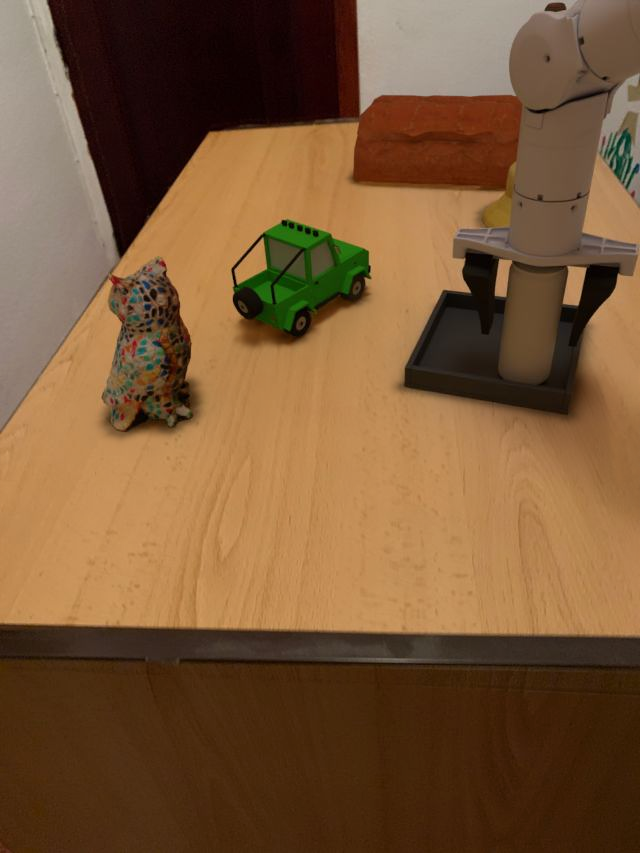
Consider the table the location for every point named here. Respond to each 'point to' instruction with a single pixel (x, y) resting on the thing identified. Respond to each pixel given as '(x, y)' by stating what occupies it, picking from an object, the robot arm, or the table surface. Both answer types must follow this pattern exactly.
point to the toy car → (300, 276)
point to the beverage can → (531, 321)
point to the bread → (438, 140)
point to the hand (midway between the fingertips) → (529, 334)
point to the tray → (486, 357)
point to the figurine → (148, 350)
